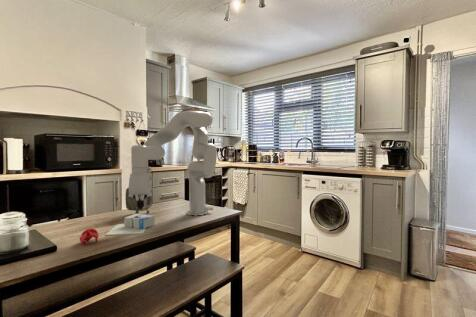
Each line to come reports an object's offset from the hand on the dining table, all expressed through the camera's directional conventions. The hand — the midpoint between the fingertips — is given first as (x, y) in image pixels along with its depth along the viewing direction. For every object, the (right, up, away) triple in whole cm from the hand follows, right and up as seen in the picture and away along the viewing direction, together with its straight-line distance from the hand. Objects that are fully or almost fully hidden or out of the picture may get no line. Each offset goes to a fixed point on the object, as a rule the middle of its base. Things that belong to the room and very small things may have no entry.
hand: (140, 208), depth 125 cm
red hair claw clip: (-15, -11, -18) cm, 26 cm away
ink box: (+4, -7, +2) cm, 8 cm away
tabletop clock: (-11, -9, +26) cm, 30 cm away
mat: (-5, -10, 0) cm, 12 cm away
